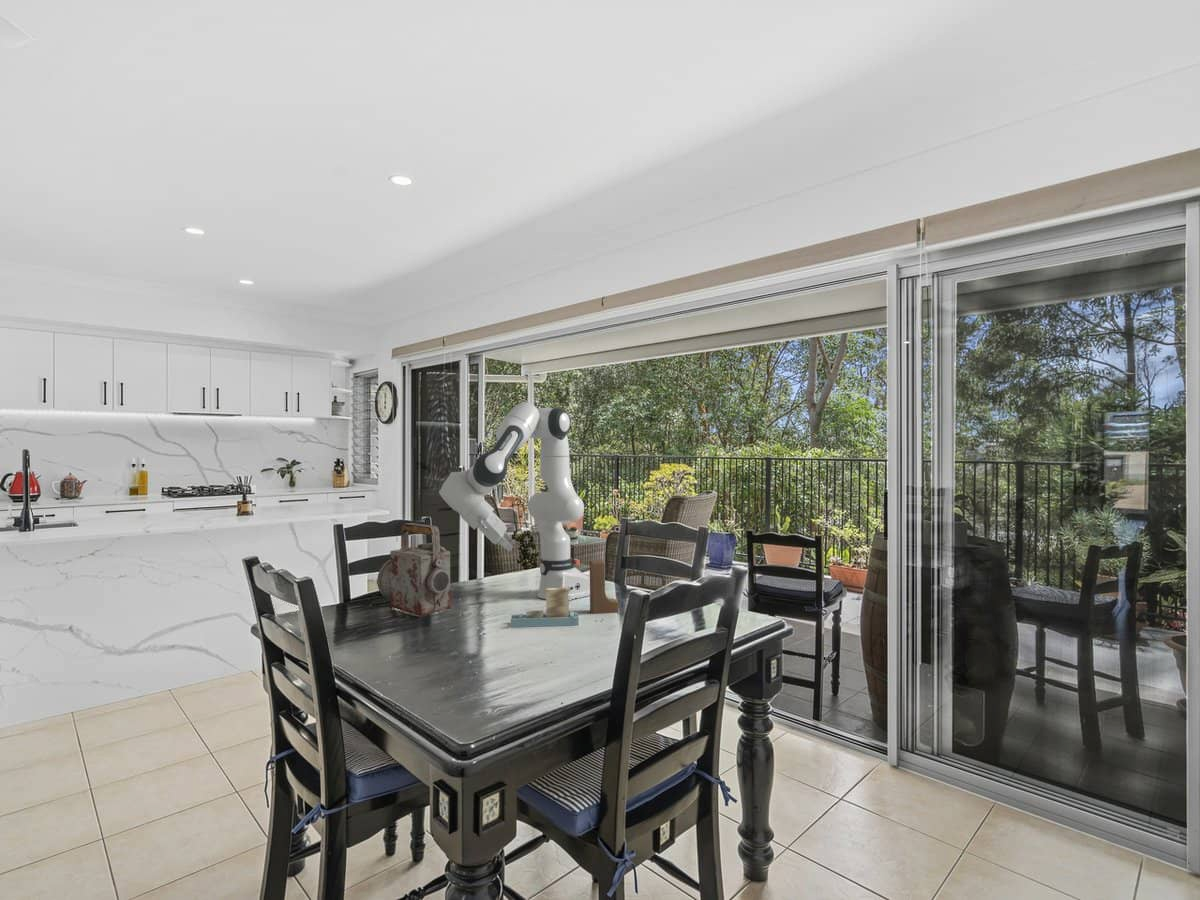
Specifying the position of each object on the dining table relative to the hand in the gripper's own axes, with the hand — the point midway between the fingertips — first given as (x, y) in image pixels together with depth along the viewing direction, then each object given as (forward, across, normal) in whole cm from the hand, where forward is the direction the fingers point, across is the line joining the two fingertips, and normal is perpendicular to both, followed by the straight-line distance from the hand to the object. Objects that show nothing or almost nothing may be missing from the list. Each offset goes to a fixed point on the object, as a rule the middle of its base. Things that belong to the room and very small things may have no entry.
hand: (512, 546), depth 199 cm
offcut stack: (+22, 0, +13) cm, 25 cm away
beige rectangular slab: (+27, 0, +7) cm, 28 cm away
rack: (+25, 0, +11) cm, 27 cm away
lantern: (-6, +26, +43) cm, 51 cm away
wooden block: (+39, +13, -3) cm, 41 cm away
